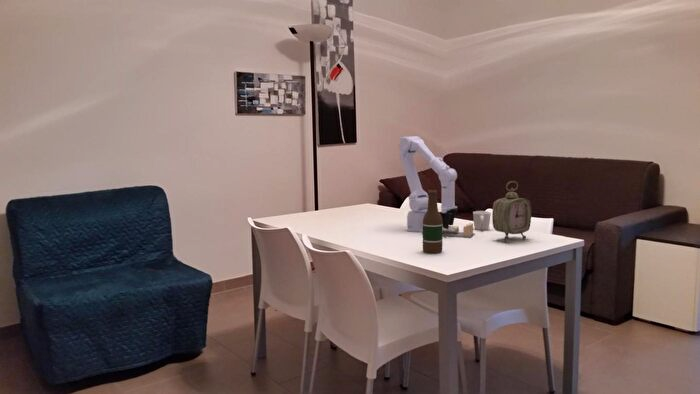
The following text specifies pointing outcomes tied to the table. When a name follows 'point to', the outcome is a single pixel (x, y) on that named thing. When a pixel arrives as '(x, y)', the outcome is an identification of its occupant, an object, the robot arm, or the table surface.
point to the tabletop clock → (511, 214)
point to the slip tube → (451, 229)
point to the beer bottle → (432, 226)
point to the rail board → (465, 234)
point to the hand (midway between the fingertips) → (448, 226)
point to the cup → (481, 220)
